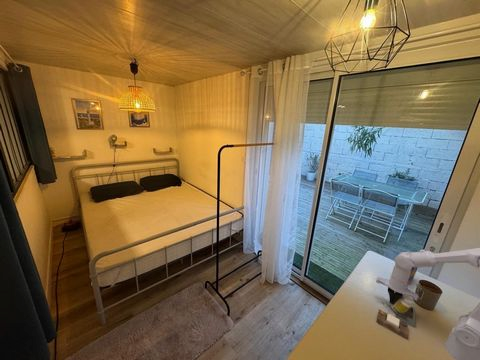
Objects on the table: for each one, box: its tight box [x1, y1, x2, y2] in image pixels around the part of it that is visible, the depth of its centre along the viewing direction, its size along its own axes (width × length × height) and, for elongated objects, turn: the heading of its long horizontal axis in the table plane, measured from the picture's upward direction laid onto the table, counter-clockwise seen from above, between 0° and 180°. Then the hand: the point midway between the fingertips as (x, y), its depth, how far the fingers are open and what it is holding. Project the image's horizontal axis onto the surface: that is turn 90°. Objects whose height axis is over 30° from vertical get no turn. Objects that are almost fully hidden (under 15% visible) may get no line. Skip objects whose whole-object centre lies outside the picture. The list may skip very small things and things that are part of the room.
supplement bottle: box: [391, 294, 414, 316], centre depth 87 cm, size 5×5×8 cm
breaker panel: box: [376, 308, 409, 340], centre depth 82 cm, size 10×6×3 cm, turn 49°
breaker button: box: [385, 313, 399, 328], centre depth 82 cm, size 4×4×2 cm
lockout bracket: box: [394, 305, 416, 328], centre depth 87 cm, size 6×9×2 cm, turn 139°
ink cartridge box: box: [406, 267, 419, 286], centre depth 104 cm, size 10×6×14 cm, turn 109°
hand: (391, 302), depth 90 cm, fingers closed
